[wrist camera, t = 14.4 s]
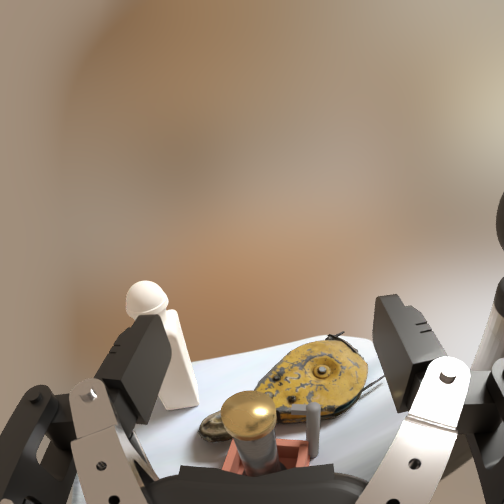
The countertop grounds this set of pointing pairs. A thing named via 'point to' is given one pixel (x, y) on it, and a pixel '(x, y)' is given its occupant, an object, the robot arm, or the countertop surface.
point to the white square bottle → (180, 369)
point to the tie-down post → (253, 431)
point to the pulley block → (307, 383)
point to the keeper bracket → (288, 443)
